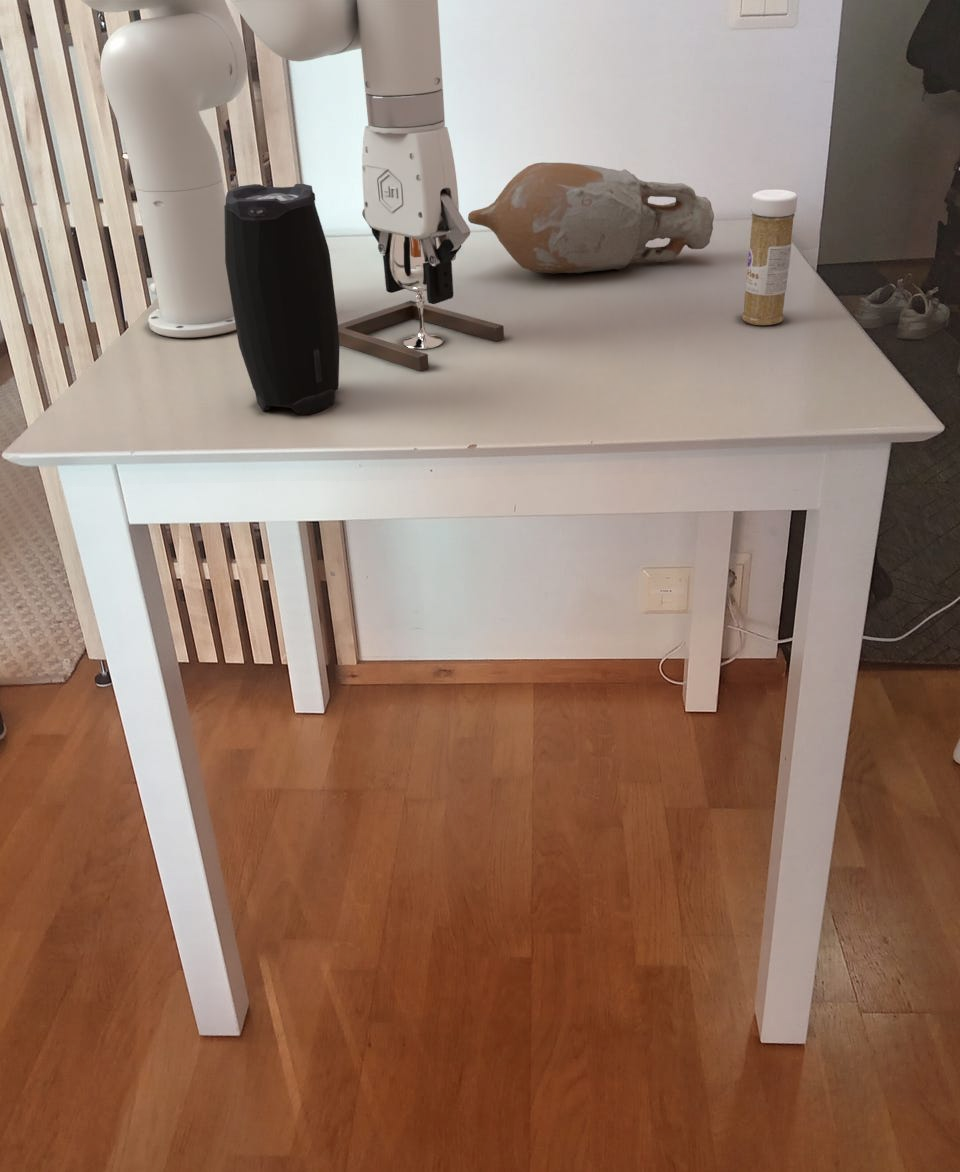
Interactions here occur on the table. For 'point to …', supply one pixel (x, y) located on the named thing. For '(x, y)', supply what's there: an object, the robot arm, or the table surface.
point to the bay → (357, 328)
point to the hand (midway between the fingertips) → (419, 293)
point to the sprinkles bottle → (769, 256)
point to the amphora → (592, 218)
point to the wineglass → (413, 281)
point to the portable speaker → (282, 296)
